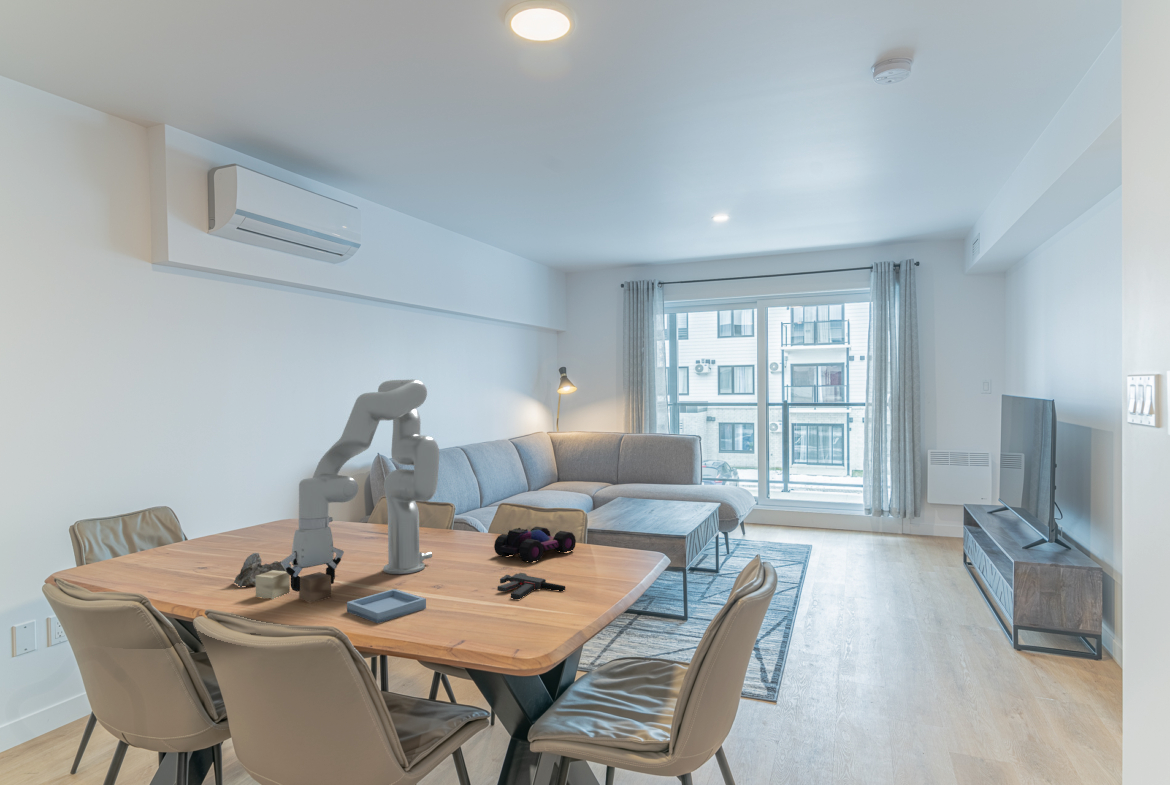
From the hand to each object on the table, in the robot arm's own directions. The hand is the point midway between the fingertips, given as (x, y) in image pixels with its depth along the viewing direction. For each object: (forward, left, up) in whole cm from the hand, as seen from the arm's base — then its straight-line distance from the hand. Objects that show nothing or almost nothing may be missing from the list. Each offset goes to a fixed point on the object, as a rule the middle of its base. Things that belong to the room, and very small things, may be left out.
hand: (313, 586), depth 176 cm
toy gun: (-40, +43, -4) cm, 59 cm away
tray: (-7, +25, -3) cm, 26 cm away
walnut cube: (-1, 0, -3) cm, 3 cm away
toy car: (-72, +15, -4) cm, 73 cm away
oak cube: (+5, -12, -3) cm, 14 cm away
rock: (0, -31, -4) cm, 31 cm away
